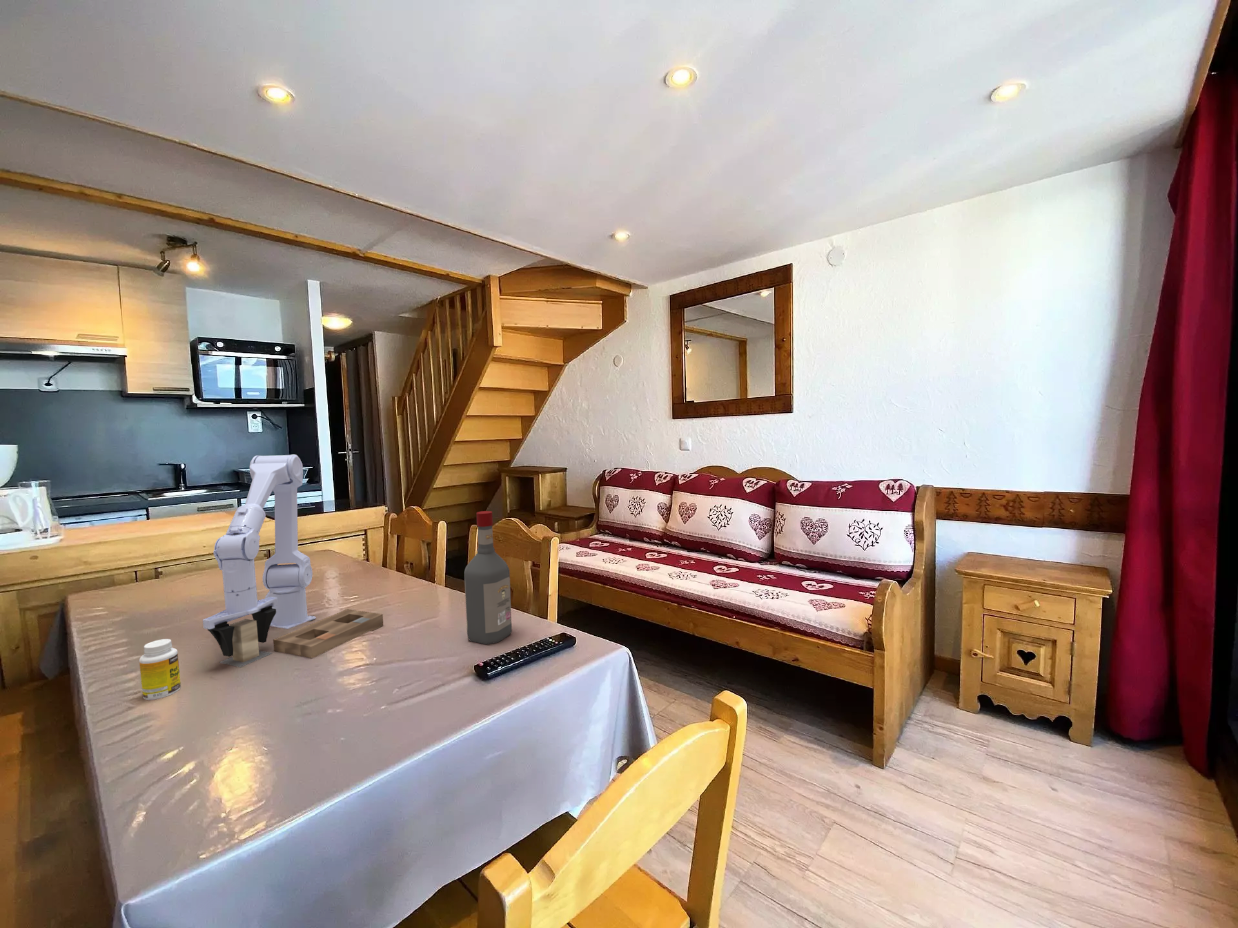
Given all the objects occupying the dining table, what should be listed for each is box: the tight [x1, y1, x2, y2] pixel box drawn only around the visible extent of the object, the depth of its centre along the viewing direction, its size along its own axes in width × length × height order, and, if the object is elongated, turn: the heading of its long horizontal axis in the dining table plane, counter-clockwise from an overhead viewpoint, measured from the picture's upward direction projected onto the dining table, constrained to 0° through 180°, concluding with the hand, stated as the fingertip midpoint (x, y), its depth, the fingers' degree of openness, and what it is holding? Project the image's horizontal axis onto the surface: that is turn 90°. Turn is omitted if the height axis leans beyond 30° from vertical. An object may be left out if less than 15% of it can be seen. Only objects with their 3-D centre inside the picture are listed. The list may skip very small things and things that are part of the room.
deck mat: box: [218, 649, 273, 668], centre depth 114 cm, size 7×7×1 cm
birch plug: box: [229, 618, 260, 662], centre depth 114 cm, size 3×3×8 cm
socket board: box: [272, 608, 384, 659], centre depth 125 cm, size 12×20×3 cm, turn 159°
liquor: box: [463, 510, 513, 645], centre depth 123 cm, size 9×9×30 cm
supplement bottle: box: [138, 638, 182, 701], centre depth 100 cm, size 6×6×10 cm
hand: (245, 648), depth 114 cm, fingers open, 7 cm apart
